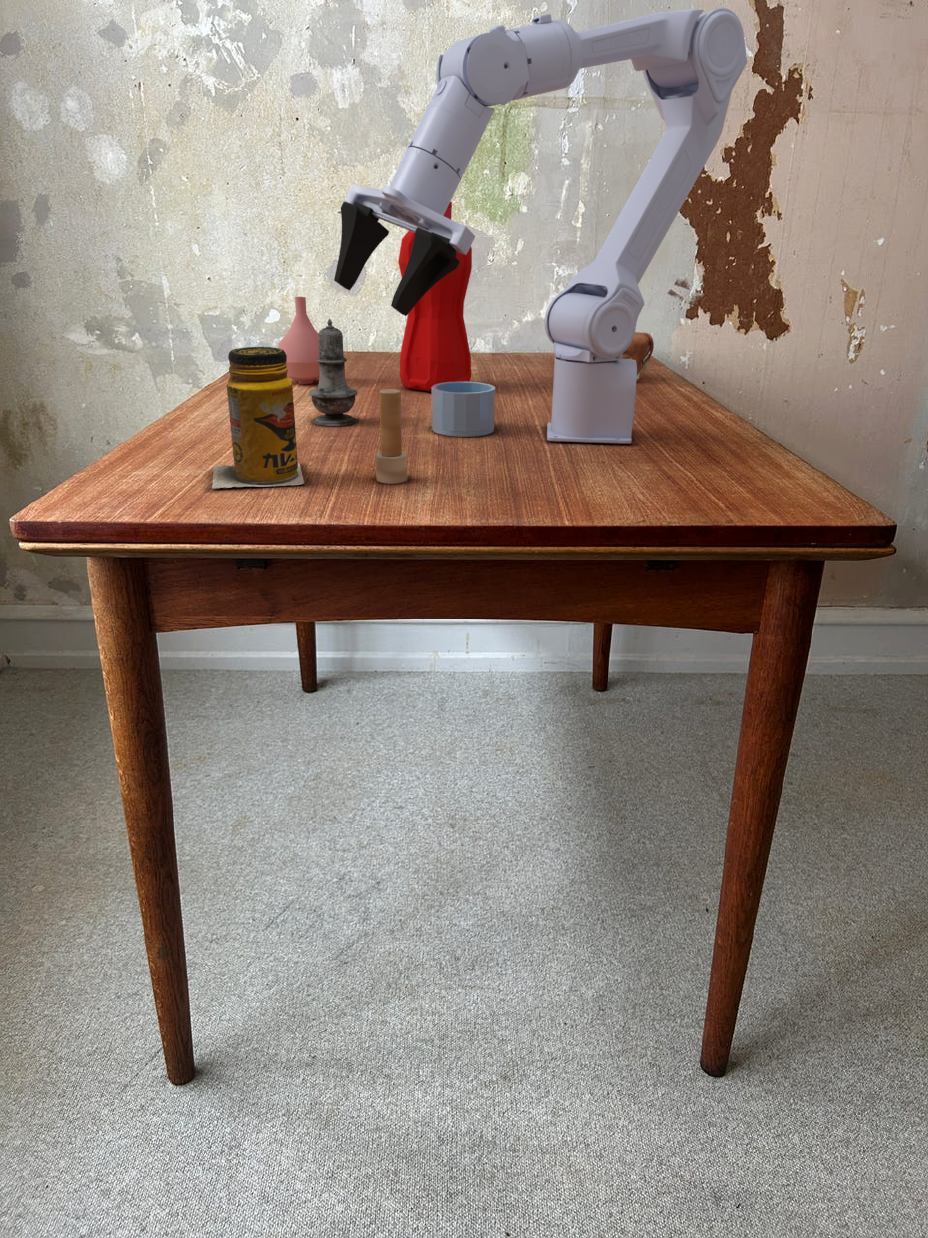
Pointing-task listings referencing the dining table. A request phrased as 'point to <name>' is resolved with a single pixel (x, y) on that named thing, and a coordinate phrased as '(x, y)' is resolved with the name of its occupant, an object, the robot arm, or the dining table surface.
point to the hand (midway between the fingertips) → (369, 298)
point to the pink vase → (301, 346)
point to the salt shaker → (332, 381)
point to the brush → (391, 440)
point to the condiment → (260, 421)
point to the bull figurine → (640, 351)
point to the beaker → (463, 409)
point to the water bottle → (436, 327)
